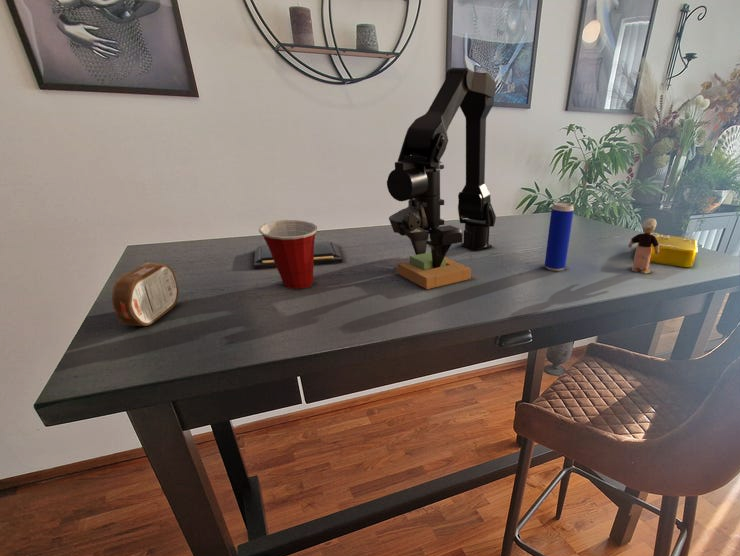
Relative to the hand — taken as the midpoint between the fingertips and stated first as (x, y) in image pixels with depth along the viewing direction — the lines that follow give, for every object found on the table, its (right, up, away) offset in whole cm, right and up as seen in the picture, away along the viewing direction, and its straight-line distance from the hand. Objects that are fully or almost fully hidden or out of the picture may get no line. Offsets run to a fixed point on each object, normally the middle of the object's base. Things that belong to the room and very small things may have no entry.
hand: (428, 266), depth 102 cm
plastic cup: (-26, -6, -8) cm, 28 cm away
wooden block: (+1, -2, -1) cm, 3 cm away
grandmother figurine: (+52, +1, +10) cm, 53 cm away
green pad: (0, -1, +1) cm, 1 cm away
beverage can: (+31, +2, +9) cm, 32 cm away
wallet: (-33, +4, +8) cm, 34 cm away
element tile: (+63, +8, +21) cm, 67 cm away
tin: (-45, -15, -24) cm, 53 cm away
